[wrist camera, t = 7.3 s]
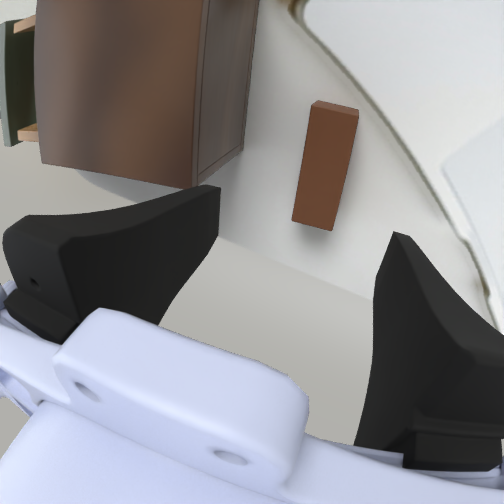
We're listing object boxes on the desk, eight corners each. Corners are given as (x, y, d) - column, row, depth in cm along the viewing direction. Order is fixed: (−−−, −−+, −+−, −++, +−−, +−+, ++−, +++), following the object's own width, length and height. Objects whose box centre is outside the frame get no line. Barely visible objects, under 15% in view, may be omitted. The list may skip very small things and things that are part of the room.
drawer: (29, 125, 23) (-17, 145, 19) (27, 27, 18) (-23, 36, 13) (142, 131, 21) (87, 155, 16) (148, -5, 15) (88, -13, 10)
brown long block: (335, 213, 21) (331, 231, 19) (298, 204, 21) (291, 221, 19) (358, 109, 17) (358, 115, 15) (317, 100, 17) (311, 104, 15)
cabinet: (109, 132, 22) (41, 163, 17) (113, -3, 16) (37, -6, 10) (243, 150, 20) (191, 192, 14) (261, -17, 14) (209, -52, 8)
